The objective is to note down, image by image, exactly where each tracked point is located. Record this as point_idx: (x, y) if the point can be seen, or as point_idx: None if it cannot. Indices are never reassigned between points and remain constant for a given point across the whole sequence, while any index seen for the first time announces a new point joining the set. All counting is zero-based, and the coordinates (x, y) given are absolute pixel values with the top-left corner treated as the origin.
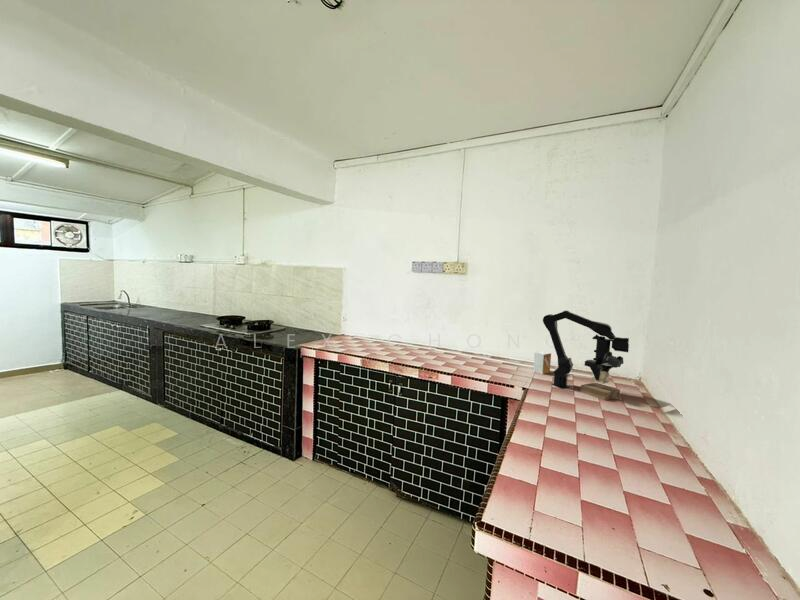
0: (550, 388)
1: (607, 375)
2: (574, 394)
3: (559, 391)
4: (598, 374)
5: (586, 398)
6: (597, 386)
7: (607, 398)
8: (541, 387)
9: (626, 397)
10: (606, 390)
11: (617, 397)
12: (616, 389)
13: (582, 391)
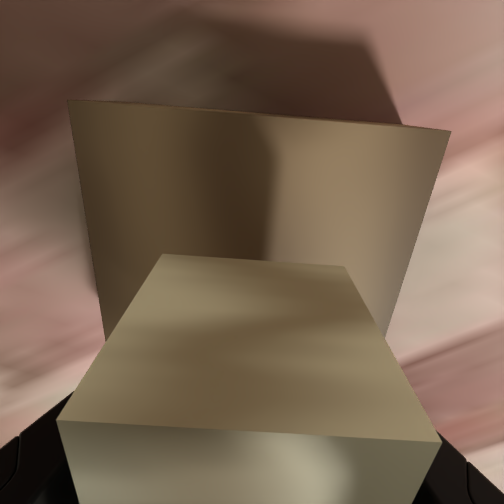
0: (466, 456)
1: (184, 358)
2: (465, 335)
3: (486, 408)
4: (472, 466)
5: (497, 242)
6: None
7: (357, 121)
8: (496, 482)
9: (33, 49)
10: (301, 184)
11: (155, 104)
12: (105, 138)
13: None
